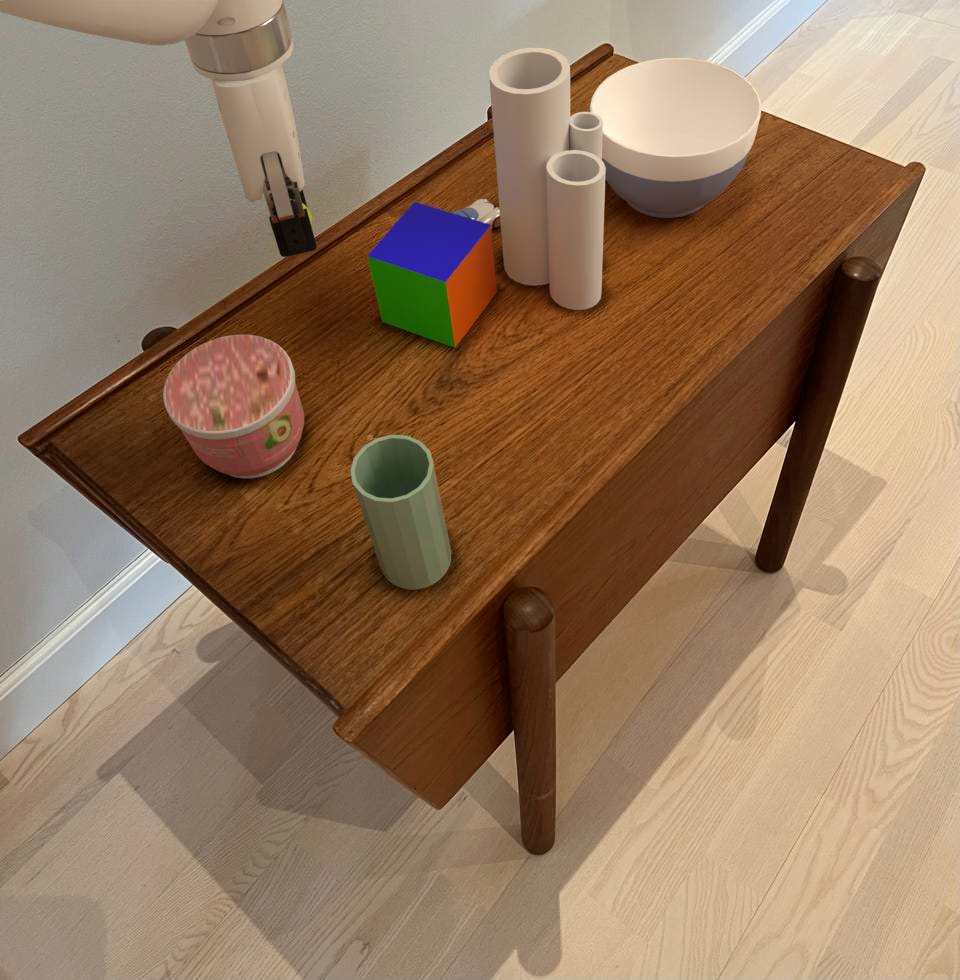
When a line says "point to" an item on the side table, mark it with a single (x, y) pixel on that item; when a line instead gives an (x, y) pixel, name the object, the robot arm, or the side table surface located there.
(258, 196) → the robot arm
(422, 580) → the tube
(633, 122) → the bowl
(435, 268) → the cube
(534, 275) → the vase
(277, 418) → the container
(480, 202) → the toy car
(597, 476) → the side table surface
